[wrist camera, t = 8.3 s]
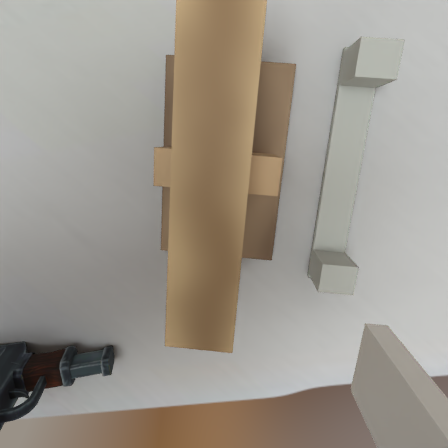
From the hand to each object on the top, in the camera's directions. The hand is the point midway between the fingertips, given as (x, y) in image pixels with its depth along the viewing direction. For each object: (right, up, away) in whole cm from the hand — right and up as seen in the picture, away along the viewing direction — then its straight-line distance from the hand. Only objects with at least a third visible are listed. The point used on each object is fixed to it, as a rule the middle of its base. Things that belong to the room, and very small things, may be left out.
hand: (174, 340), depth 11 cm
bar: (+1, +7, +9) cm, 11 cm away
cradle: (+12, +8, +16) cm, 21 cm away
